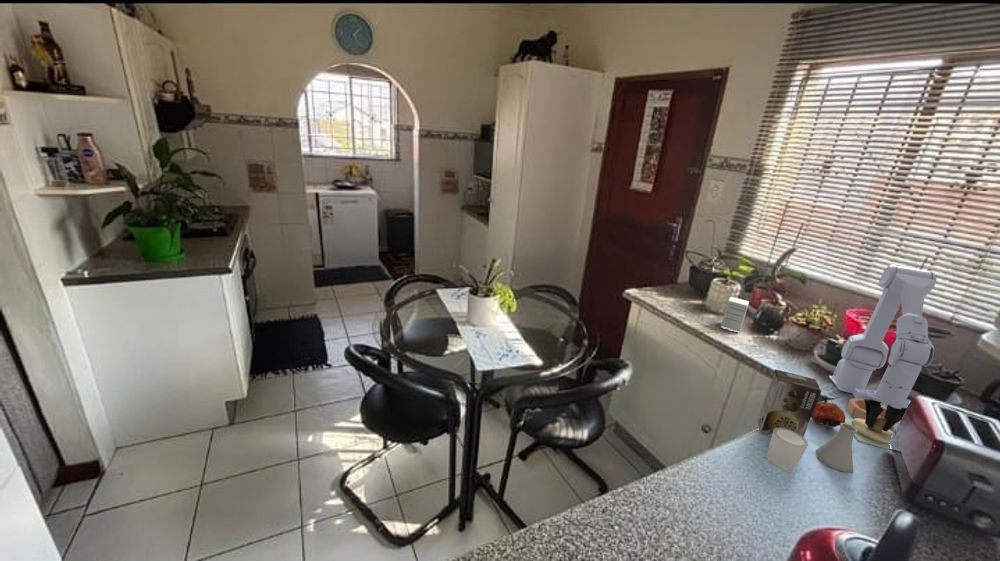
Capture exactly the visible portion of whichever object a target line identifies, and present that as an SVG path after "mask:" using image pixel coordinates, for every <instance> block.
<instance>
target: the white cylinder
mask: <svg viewBox="0 0 1000 561" xmlns="http://www.w3.org/2000/svg"><path fill="white" fill-rule="evenodd" d="M808 446H809V443H808V441H807V440H806V438H805V436H804V437H802V436H801V435H799V434H798V433H796V432H794V431H792V430H789V429H786V428H775V429H774V430H773V433H772V437H770V442H769V447H768V450H767V455H768V458H769V459H768V458H767V459H768V460H769V462H770V463H772V464H773V465H775V466H776V467H778V468H779V467H780V468H779V469H782V468H783V469H782V470H785V469H786V471H794V470H793V469H795V468H796V467H797V466H798V463H799V462H800V460H801V459H802V457H803V455H804V453H805V452H806V450H807V448H808Z"/></svg>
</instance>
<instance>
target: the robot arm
mask: <svg viewBox="0 0 1000 561" xmlns="http://www.w3.org/2000/svg"><path fill="white" fill-rule="evenodd" d="M937 280H938V279H937V275H936V273H935V271H931V270H930V271H928V270H923V269H917V268H911V267H907V266H900V265H896V264H889V265H888V266H886V267H885V268H884V271H883V273H882V274H881V276H880V278H879V281H878V285H877V286H878V287H879V288H882V293H881V296H880V297H879V300H878V302H877V304H876V306H875V307H874V311H873V312H872V314H871V316H870V318H869V321H868V323H867V325H866V326H865V329H864V331H863V333H860V334H859V333H858V334H854V335H850V336H849V337H848V339H847V340H846V341H845V343H844V344H843V346H842V349H841V354H840V355H841V357H842V358H841V359H840V360H839V361H838V362H837V365H836V367H835V369H834V371H833V374H832V375H828V378H829V379H830V380H831V381H832V383H833V384H834V385H835V386H836V388H837V389H838V390H839V391H841V392H845V393H848V394H852V397H853V398H857V399H864V402H865V406H866V420H865V424H866V425H867V426H868V427H870V428H872V427H873V425H874V423H875V421H876V419H877V417H878V416H879V415H880V414H881V413H882V412H883V411H884V410H883V409H882V408H881V404H882V405H886V408H887V409H886V413H885V416H884V418H886V419H887V422H886V424H885V426H884V428H883V431H886V432H887V431H888V430H890V429H892V428H893V427H894V426H895V425H896V424H898V423H899V422H900V421H902V420H903V419H902V417H903V415H904V413H905V411H906V409H907V407H908V405H909V404H910V402H911V401H912V400H910V399H908V397H909V395H910V393H911V391H912V388H913V387H914V385H915V383H916V381H917V378H918V376H920V373H921V371H922V369H923V368H925V367H928V366H929V365H930V364H931V363H932V361H933V359H934V356H935V347H934V345H933V344H932V341H931V340H929V333H928V332H929V324H928V323H929V321H928V320H927V318H925V317H924V316H923V311H924V303H925V297H926V296H927V295H929V293H931V291H932V290H933V289H934V288H935V286H936V283H937ZM900 306H901V313H902V315H901V316H899V317H898V318H897V319H896V332H895V334H896V336H895V338H896V340H894V342H893V344H892V345H891V348H890V349H889V347H888V345H887V344H886V343H885V342H884V341H883V340H884V338H885V337H886V335H887V333H888V330H889V329H890V326H891V324H892V322H893V320H894V318H895V317H896V314H897V312H898V310H899V308H900ZM889 351H890V354H889ZM888 354H889V357H888ZM887 359H888V361H887ZM886 362H888V365H887V367H886V369H885V372H884V374H883V376H882V378H881V381H880V382H879V384H878V387H877V389H876V390H869V389H868V390H867V389H866V388H867V385H868V383H869V380H870V378H871V376H872V374H873V371H876V370H877V369H881V368H883V367H884V366H885V364H886ZM893 425H894V426H893ZM892 426H893V427H892Z"/></svg>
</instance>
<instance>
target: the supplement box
mask: <svg viewBox="0 0 1000 561" xmlns="http://www.w3.org/2000/svg"><path fill="white" fill-rule="evenodd" d="M749 304H750V301H749V300H745V299H742V298H739V297H738V298H737V297H733V296H730V297H729V299H728V301H727V304H726V306H725V310H724V313H723V318H722V321H721V324H720V327H721V326H724V327H727V328H730V329H733V330H737V331H740V332H741V329H742V328H743V327H742V326H743V324H744V320H745V317H746V314H747V310H748V307H749Z"/></svg>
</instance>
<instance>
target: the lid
mask: <svg viewBox="0 0 1000 561" xmlns="http://www.w3.org/2000/svg"><path fill="white" fill-rule="evenodd" d="M852 420H853V421H852V425H853V426H854V427H855V428H856V429H857V430H858V431H859V432H860V433H862V434H864V435H865V436H867V437H869V438H871V439H874V440H876V441H879V442H883V443H888V444H890V440H891V436H892V435H893V433H894V432H893V431H892V430H890V429H889V430H888V431H887V432H886V431H883V428H884V426H885V424H886V422H887V419H886V418H884V417H882V416H880V415H879V416H878V417H877V419H876V421H875V423H874V425H873V427H872V428H870V427H868V426H867V425H866V424H865V420H866V419H861V418H854V419H852Z"/></svg>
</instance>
